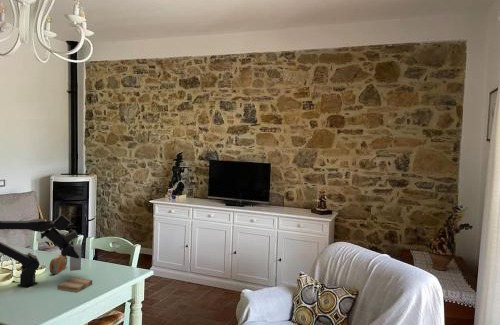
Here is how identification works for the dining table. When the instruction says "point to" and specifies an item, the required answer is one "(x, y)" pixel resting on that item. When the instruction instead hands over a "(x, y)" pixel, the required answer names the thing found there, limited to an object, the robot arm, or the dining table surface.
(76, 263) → the brushed metal box
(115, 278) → the dining table surface
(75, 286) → the plate
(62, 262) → the tin
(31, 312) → the dining table surface
